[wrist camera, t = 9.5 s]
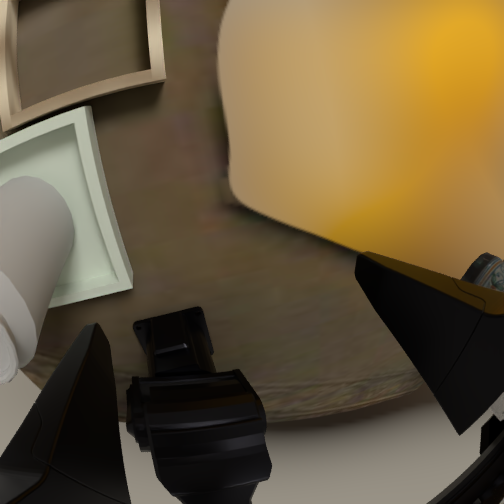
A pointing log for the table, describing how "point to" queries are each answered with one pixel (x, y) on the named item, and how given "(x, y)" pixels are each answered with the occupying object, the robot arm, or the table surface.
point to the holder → (8, 95)
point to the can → (29, 264)
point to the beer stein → (486, 272)
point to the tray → (74, 201)
